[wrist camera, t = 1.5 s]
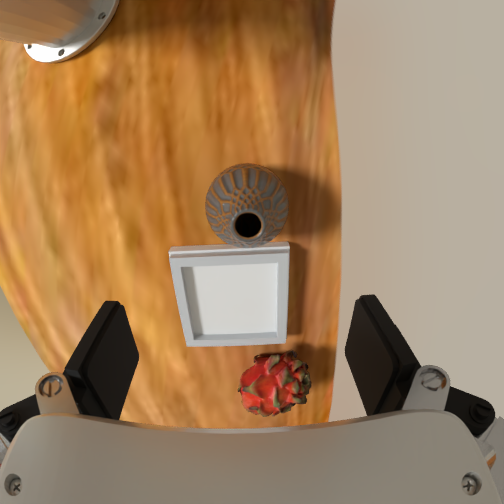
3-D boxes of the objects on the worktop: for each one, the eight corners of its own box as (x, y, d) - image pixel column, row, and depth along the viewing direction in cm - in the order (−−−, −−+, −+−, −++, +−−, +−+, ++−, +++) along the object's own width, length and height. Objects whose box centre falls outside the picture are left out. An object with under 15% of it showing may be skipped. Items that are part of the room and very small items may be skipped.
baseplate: (171, 246, 30) (166, 256, 28) (288, 241, 30) (291, 250, 28) (187, 335, 35) (185, 347, 33) (285, 332, 35) (287, 344, 33)
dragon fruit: (305, 329, 37) (252, 371, 42) (261, 337, 31) (208, 382, 36) (338, 384, 32) (278, 418, 38) (299, 405, 26) (235, 437, 32)
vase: (215, 232, 29) (206, 275, 21) (205, 163, 26) (189, 182, 18) (284, 224, 29) (300, 265, 21) (279, 155, 26) (296, 170, 18)
